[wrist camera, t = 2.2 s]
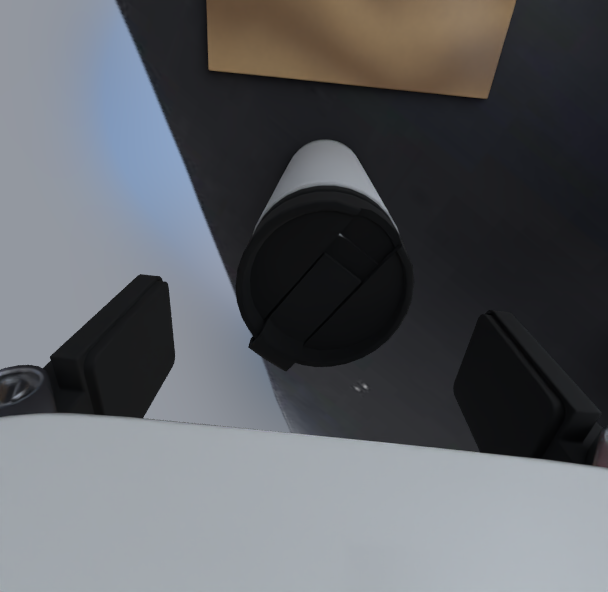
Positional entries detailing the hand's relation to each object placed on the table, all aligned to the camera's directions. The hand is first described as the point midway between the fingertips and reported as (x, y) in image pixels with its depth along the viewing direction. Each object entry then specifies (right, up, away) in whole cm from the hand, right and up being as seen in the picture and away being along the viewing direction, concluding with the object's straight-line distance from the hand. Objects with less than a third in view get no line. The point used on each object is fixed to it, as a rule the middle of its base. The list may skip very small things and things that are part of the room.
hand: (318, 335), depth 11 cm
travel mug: (+1, +11, +19) cm, 22 cm away
